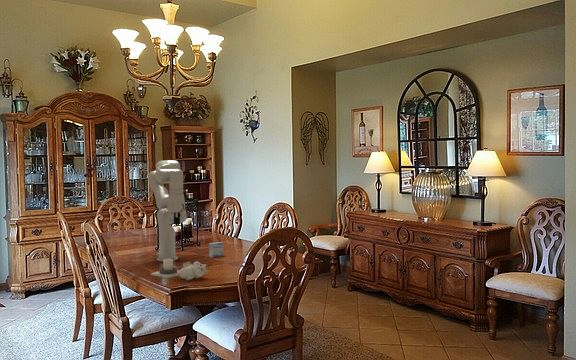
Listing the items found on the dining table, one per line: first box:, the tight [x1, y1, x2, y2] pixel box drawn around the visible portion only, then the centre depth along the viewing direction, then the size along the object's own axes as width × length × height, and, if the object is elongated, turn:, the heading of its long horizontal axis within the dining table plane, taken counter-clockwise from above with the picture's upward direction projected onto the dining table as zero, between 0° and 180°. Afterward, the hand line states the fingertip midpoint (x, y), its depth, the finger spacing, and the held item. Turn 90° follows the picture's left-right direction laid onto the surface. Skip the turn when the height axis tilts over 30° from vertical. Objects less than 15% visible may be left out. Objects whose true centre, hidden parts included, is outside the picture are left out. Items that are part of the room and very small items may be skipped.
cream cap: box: [162, 259, 174, 271], centre depth 275 cm, size 5×5×7 cm
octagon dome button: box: [150, 266, 181, 279], centre depth 275 cm, size 13×13×3 cm
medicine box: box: [208, 241, 224, 259], centre depth 321 cm, size 8×4×9 cm, turn 126°
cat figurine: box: [178, 261, 209, 282], centre depth 265 cm, size 10×8×15 cm
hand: (176, 224), depth 288 cm, fingers closed
